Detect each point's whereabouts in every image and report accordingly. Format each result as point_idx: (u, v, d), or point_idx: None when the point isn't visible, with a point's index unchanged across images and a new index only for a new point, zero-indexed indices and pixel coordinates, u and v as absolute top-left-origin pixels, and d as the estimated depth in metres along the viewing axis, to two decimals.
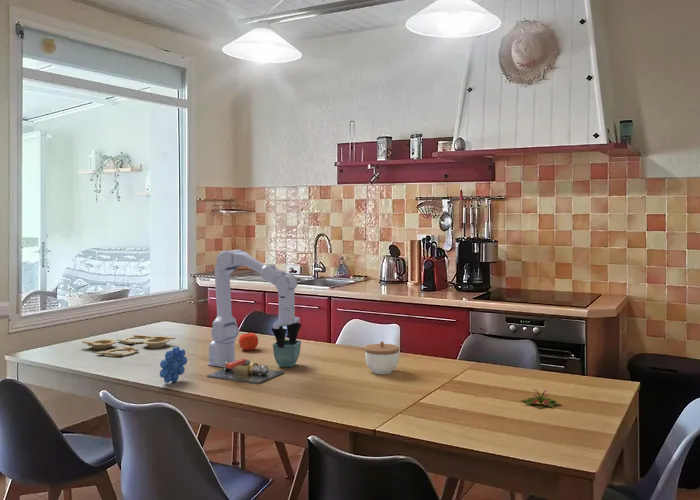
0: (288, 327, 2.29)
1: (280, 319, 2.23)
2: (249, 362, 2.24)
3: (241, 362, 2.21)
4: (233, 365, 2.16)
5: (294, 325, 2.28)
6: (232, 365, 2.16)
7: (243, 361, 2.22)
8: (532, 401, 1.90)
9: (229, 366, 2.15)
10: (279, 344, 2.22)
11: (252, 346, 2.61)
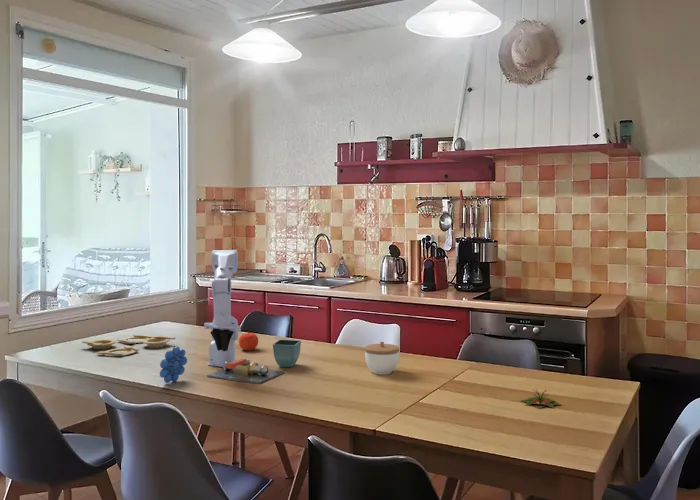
0: None
1: None
2: (249, 362, 2.24)
3: (241, 362, 2.21)
4: (233, 365, 2.16)
5: None
6: (232, 365, 2.16)
7: (243, 361, 2.22)
8: (532, 401, 1.90)
9: (229, 366, 2.15)
10: None
11: (252, 346, 2.61)
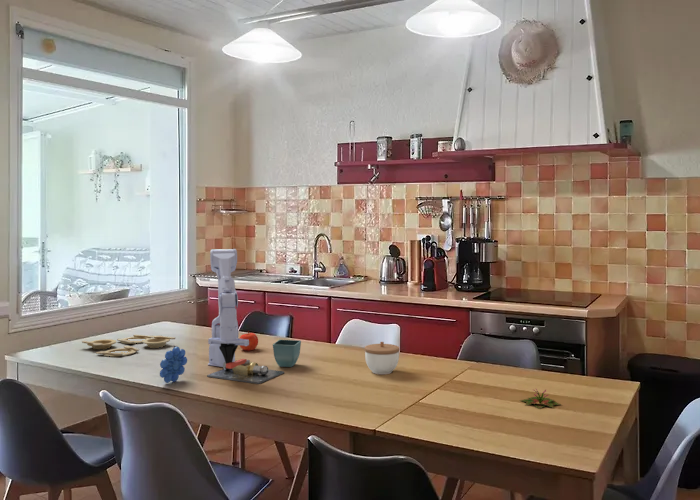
0: None
1: None
2: (249, 362, 2.24)
3: (241, 362, 2.21)
4: (233, 365, 2.16)
5: None
6: (232, 365, 2.16)
7: (243, 361, 2.22)
8: (532, 401, 1.90)
9: (229, 366, 2.15)
10: None
11: (252, 346, 2.61)
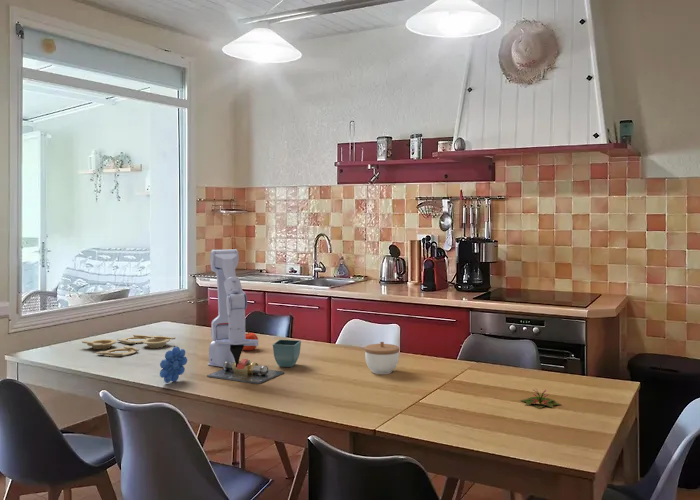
0: None
1: None
2: (249, 362, 2.25)
3: (246, 362, 2.21)
4: (244, 365, 2.16)
5: None
6: (243, 365, 2.15)
7: (246, 360, 2.22)
8: (532, 401, 1.90)
9: (241, 367, 2.14)
10: None
11: (252, 346, 2.61)
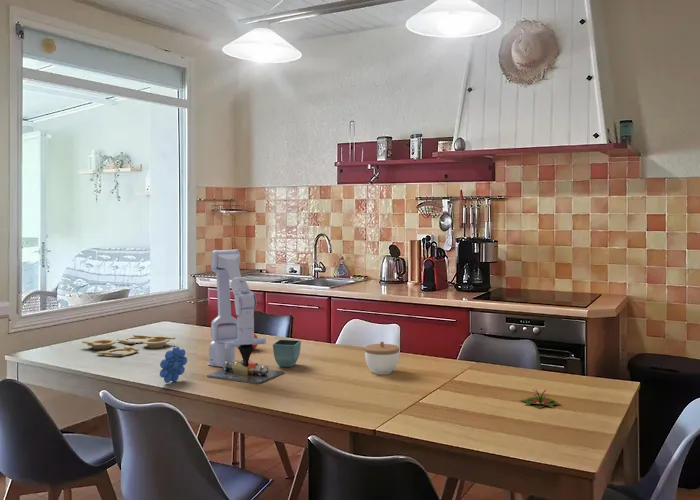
0: None
1: (237, 338, 2.17)
2: None
3: None
4: None
5: None
6: None
7: None
8: (532, 401, 1.90)
9: (253, 366, 2.16)
10: None
11: None
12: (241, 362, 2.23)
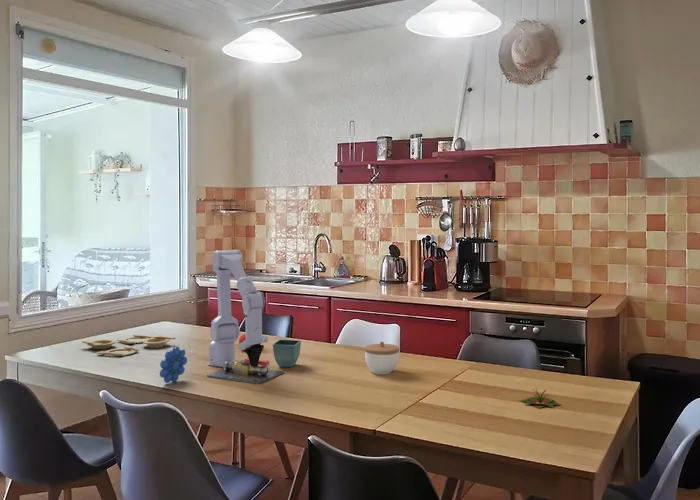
0: (250, 349, 2.18)
1: (247, 339, 2.15)
2: None
3: None
4: None
5: None
6: None
7: None
8: (532, 401, 1.90)
9: (268, 363, 2.20)
10: (252, 363, 2.17)
11: None
12: (243, 362, 2.23)
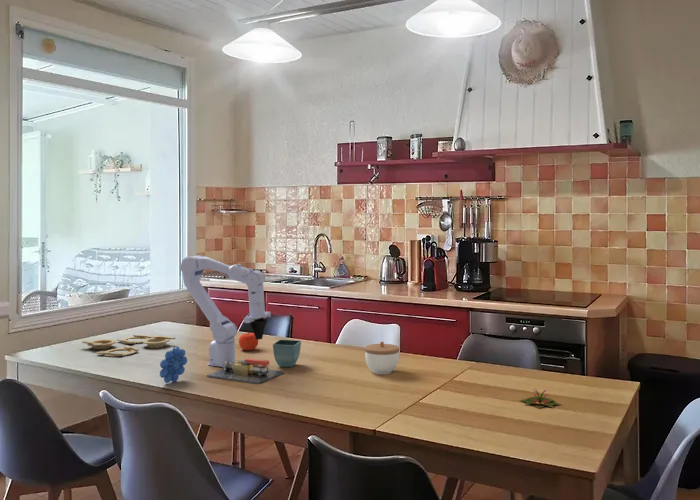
0: None
1: (251, 314, 2.32)
2: None
3: None
4: None
5: None
6: None
7: None
8: (532, 401, 1.90)
9: (268, 363, 2.20)
10: (256, 336, 2.34)
11: (252, 346, 2.61)
12: (243, 362, 2.23)
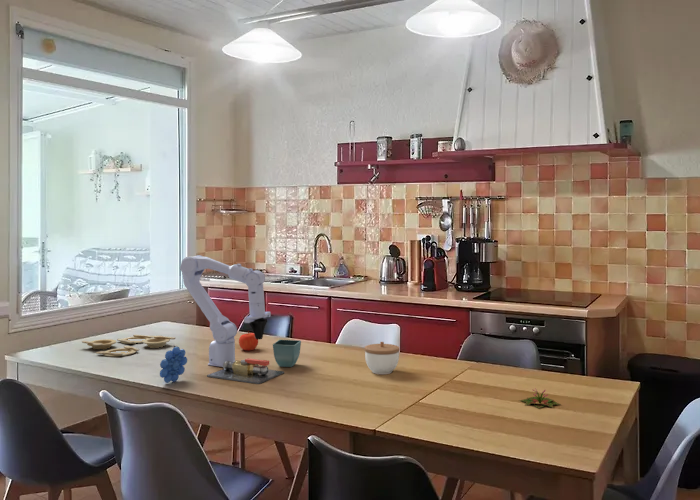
0: None
1: (251, 314, 2.32)
2: None
3: None
4: None
5: None
6: None
7: None
8: (532, 401, 1.90)
9: (268, 363, 2.20)
10: (257, 336, 2.34)
11: (252, 346, 2.61)
12: (243, 362, 2.23)
